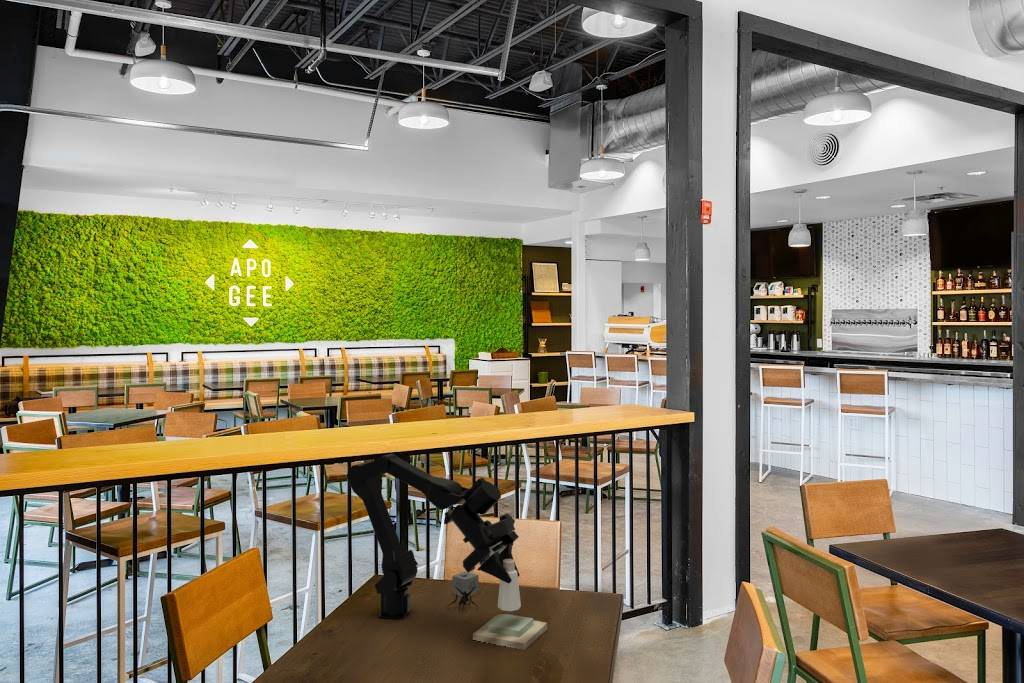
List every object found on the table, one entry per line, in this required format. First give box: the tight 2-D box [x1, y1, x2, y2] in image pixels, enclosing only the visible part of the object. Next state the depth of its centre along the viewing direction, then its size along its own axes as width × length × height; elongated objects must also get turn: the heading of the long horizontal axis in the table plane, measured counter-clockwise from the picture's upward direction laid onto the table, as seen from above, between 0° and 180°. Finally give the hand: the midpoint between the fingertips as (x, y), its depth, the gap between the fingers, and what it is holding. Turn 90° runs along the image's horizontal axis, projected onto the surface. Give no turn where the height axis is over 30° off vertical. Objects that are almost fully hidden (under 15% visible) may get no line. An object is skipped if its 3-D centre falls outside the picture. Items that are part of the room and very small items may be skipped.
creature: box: [447, 586, 479, 613], centre depth 192 cm, size 8×5×8 cm
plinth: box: [472, 613, 548, 651], centre depth 174 cm, size 13×13×3 cm
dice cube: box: [451, 571, 480, 595], centre depth 203 cm, size 5×5×5 cm
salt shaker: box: [497, 558, 522, 612], centre depth 174 cm, size 5×5×11 cm
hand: (514, 579), depth 173 cm, fingers closed on salt shaker, 4 cm apart
